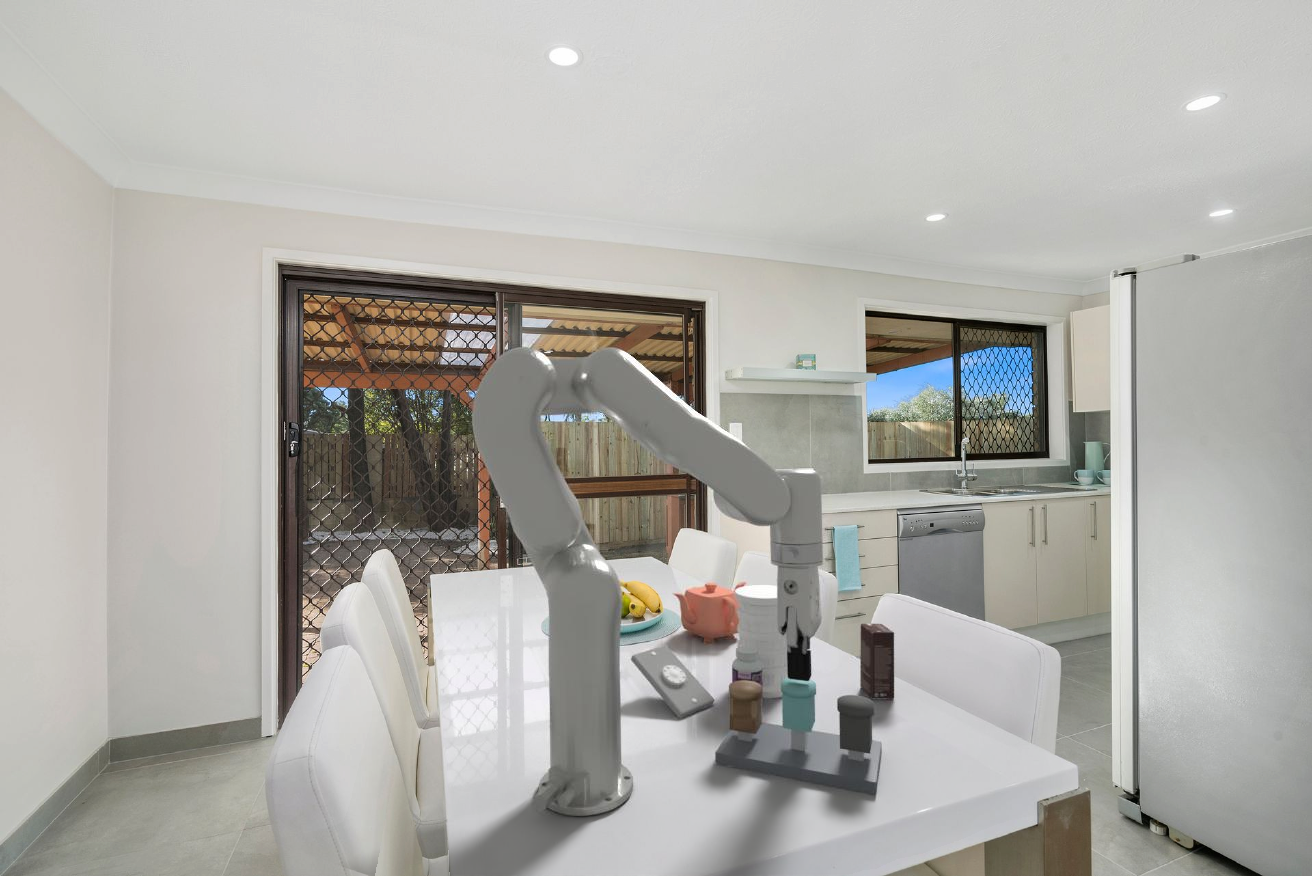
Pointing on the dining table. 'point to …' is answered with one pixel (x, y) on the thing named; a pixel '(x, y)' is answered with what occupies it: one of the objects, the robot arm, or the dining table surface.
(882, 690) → the box
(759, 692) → the walnut key
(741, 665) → the pill bottle
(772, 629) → the decorative container
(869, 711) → the dark grey round-topped block
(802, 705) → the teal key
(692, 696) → the light switch
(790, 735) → the panel
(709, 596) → the teapot
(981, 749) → the dining table surface
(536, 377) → the robot arm
